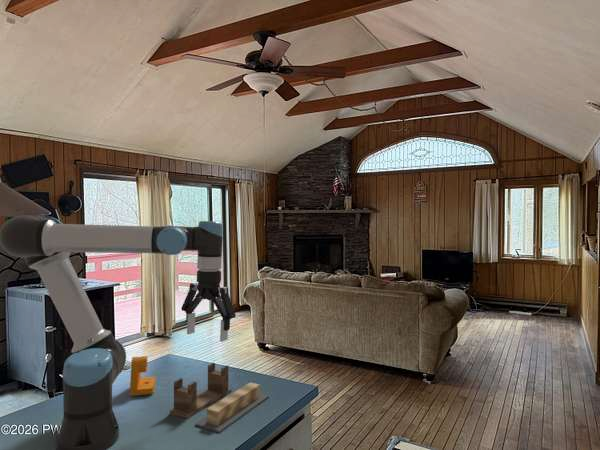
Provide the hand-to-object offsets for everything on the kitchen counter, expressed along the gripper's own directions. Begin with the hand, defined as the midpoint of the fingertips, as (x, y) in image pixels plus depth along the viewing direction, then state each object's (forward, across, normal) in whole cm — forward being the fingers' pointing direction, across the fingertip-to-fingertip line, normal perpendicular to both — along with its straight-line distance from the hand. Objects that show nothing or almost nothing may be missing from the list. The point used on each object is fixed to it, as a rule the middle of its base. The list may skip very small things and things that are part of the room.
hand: (206, 337), depth 129 cm
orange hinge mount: (+24, +28, -1) cm, 37 cm away
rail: (+22, -9, -4) cm, 24 cm away
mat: (+23, -9, -4) cm, 25 cm away
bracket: (+23, +4, -4) cm, 24 cm away
